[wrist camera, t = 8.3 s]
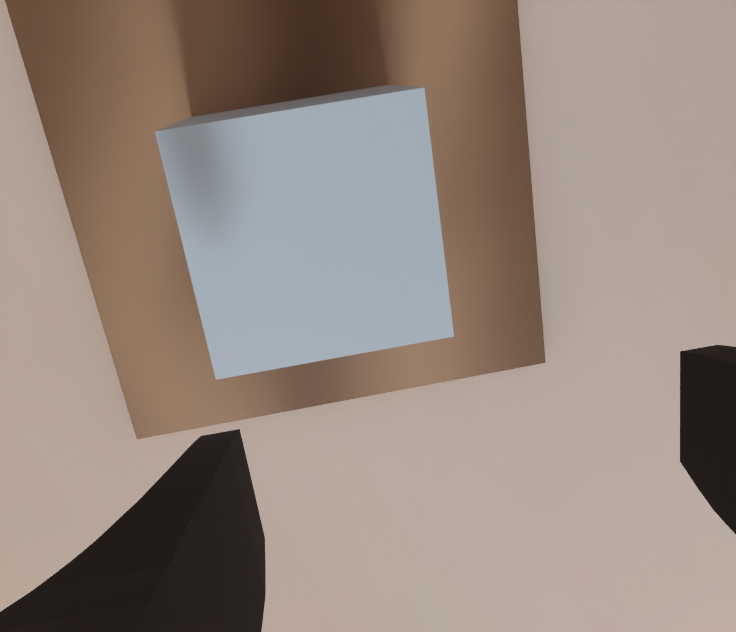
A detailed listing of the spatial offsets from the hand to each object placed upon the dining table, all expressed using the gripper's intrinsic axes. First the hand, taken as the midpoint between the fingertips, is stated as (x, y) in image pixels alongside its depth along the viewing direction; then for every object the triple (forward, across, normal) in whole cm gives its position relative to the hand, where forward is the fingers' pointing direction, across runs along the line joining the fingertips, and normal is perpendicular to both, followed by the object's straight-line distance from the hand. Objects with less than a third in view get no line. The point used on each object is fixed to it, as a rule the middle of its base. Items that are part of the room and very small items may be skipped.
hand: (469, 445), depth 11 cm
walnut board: (+9, +2, -3) cm, 10 cm away
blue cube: (+9, +2, -3) cm, 9 cm away
